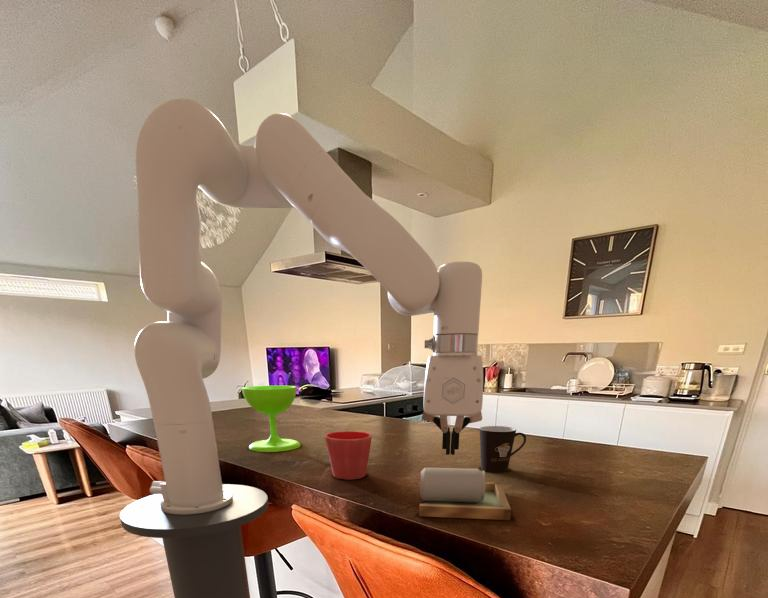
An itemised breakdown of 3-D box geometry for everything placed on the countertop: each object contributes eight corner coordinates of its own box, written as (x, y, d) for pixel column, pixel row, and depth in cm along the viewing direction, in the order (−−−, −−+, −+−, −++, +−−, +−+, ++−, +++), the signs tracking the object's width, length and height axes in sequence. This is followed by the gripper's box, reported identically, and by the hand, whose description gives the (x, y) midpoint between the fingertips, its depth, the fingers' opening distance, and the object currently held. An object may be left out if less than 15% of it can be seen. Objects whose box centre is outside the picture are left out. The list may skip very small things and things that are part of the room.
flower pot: (381, 473, 102) (381, 433, 98) (353, 484, 93) (352, 440, 90) (346, 467, 107) (345, 429, 104) (317, 477, 98) (315, 436, 95)
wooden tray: (419, 516, 74) (419, 505, 74) (424, 489, 89) (424, 480, 89) (510, 520, 72) (511, 509, 71) (499, 491, 87) (500, 482, 87)
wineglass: (302, 450, 128) (298, 388, 121) (247, 453, 124) (240, 389, 117) (298, 440, 142) (294, 385, 136) (249, 443, 138) (242, 386, 132)
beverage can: (419, 493, 77) (486, 495, 75) (421, 461, 79) (486, 463, 77) (419, 505, 83) (482, 507, 81) (421, 475, 85) (482, 477, 83)
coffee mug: (476, 472, 101) (480, 431, 98) (476, 464, 109) (478, 425, 106) (527, 474, 100) (532, 432, 96) (522, 466, 107) (527, 426, 104)
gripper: (409, 347, 69) (408, 456, 75) (503, 345, 67) (493, 458, 73) (412, 347, 76) (411, 448, 82) (497, 346, 74) (489, 450, 80)
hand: (450, 453), depth 78 cm, fingers closed
